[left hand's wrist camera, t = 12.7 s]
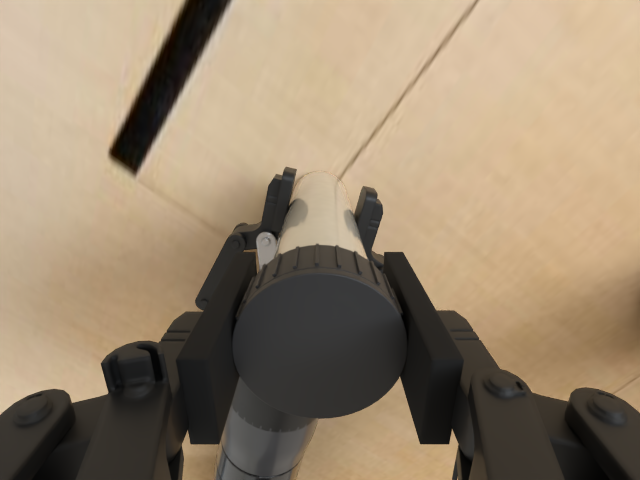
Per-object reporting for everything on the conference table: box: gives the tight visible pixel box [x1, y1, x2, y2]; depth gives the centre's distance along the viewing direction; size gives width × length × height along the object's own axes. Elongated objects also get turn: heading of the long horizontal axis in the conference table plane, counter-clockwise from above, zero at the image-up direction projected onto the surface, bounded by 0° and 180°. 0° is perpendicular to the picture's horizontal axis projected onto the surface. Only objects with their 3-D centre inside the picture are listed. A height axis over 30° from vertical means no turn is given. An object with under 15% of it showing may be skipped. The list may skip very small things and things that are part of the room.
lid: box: [232, 244, 408, 419], centre depth 12 cm, size 5×5×2 cm
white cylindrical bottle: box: [272, 171, 368, 260], centre depth 20 cm, size 4×4×18 cm
